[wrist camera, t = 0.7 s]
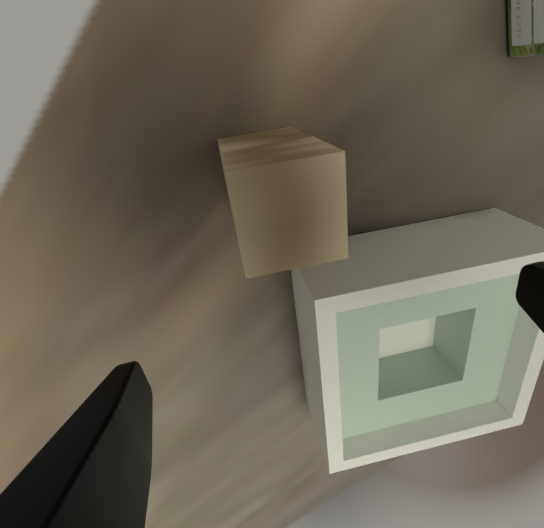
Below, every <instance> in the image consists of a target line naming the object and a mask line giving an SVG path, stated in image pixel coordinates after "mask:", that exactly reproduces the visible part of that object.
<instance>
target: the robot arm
mask: <svg viewBox="0 0 544 528" xmlns="http://www.w3.org/2000/svg"><path fill="white" fill-rule="evenodd" d="M515 296H516V300H517V302H518V304H519V305H520V307H521V308H522V309H523V310H524V311H525V312H526V314H527V315H528V316H529V317H530V318H531V319H532V321H533V322H534V323H535V324H536V325H537V326H538V327H539V329H540V330H541V331H542V332H543V333H544V261H540V262H535V263H531V264H527V265H525V266H523V267H522V269H521V270H520V274H519V279H518V284H517V288H516V293H515ZM151 467H152V390H151V387H150V385H149V383H148V381H147V378H146V376H145V374H144V372H143V370H142V368H141V366H140V364H139V363H138V362H136V361H132V362H128V363H124V364H120V365H118V366H116V367H115V368H114V369H113V370H112V371H111V372H110V374H109V375H108V376H107V377H106V378H105V379H104V380H103V381H102V382H101V384H100V385H99V386H98V387H97V388H96V389H95V390H94V391H93V392H92V394H91V395H90V396H89V397H88V398H87V399H86V400H85V401H84V402H83V403H82V405H81V406H80V407H79V408H78V409H77V410H76V411H75V412H74V413H73V415H72V416H71V417H70V418H69V419H68V420H67V421H66V422H65V423H64V425H63V426H62V427H61V428H60V429H59V430H58V431H57V432H56V433H55V434H54V436H53V437H52V438H51V439H50V440H49V441H48V442H47V443H46V444H45V446H44V447H43V448H42V449H41V450H40V451H39V452H38V453H37V454H36V456H35V457H34V458H33V459H32V460H31V461H30V462H29V463H28V464H27V465H26V467H25V468H24V469H23V470H22V471H21V472H20V473H19V474H18V475H17V477H16V478H15V479H14V480H13V481H12V482H11V483H10V484H9V485H8V486H7V488H6V489H5V490H4V491H3V492H2V493H1V494H0V528H145V520H146V511H147V503H148V495H149V487H150V478H151Z"/></svg>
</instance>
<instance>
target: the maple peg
mask: <svg viewBox="0 0 544 528" xmlns="http://www.w3.org/2000/svg"><path fill="white" fill-rule="evenodd" d="M217 141H218V146H219V151H220V156H221V161H222V166H223V171H224V176H225V182H226V187H227V192H228V197H229V202H230V207H231V212H232V217H233V221H234V226H235V231H236V235H237V240H238V245H239V249H240V254H241V259H242V263H243V268H244V273H245V277H246V279H248V278H253V277H258V276H263V275H268V274H273V273H278V272H283V271H288V270H293V269H298V268H303V267H308V266H313V265H318V264H323V263H328V262H332V261H337V260H342V259H347V258H348V224H347V190H346V156H345V151H344V150H342V149H340V148H337V147H335V146H333V145H331V144H329V143H327V142H324V141H322V140H320V139H318V138H316V137H314V136H311V135H309V134H307V133H305V132H303V131H301V130H298V129H296V128H294V127H292V126H291V127H285V128H279V129H273V130H267V131H261V132H254V133H248V134H242V135H236V136H230V137H224V138H218V139H217Z"/></svg>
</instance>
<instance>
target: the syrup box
mask: <svg viewBox="0 0 544 528" xmlns="http://www.w3.org/2000/svg"><path fill="white" fill-rule="evenodd" d="M508 31H509V52H510V56H511V57H524V56H536V55H544V0H508Z"/></svg>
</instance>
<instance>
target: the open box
mask: <svg viewBox="0 0 544 528" xmlns="http://www.w3.org/2000/svg"><path fill="white" fill-rule="evenodd" d="M540 261H544V228H542V227H539V226H537V225H534V224H532V223H530V222H527V221H525V220H523V219H520V218H518V217H515V216H513V215H511V214H508V213H506V212H504V211H501V210H499V209H497V208H490V209H485V210H480V211H475V212H470V213H465V214H460V215H454V216H449V217H444V218H439V219H434V220H429V221H424V222H419V223H413V224H408V225H403V226H398V227H393V228H388V229H383V230H378V231H373V232H367V233H362V234H357V235H352V236H348V258H347V259H342V260H337V261H332V262H328V263H323V264H318V265H313V266H308V267H303V268H298V269H293V270H291V278H292V286H293V295H294V303H295V311H296V319H297V328H298V336H299V344H300V352H301V361H302V369H303V377H304V385H305V394H306V402H307V405H308V408H309V411H310V414H311V417H312V420H313V423H314V427H315V430H316V433H317V436H318V439H319V442H320V445H321V448H322V451H323V455H324V458H325V461H326V464H327V467H328V470H329V473H330V474H331V473H335V472H339V471H342V470H346V469H350V468H354V467H358V466H362V465H366V464H370V463H373V462H377V461H381V460H385V459H389V458H393V457H397V456H401V455H404V454H408V453H412V452H416V451H420V450H424V449H428V448H431V447H436V446H439V445H443V444H447V443H451V442H455V441H459V440H463V439H467V438H470V437H474V436H478V435H482V434H486V433H490V432H494V431H498V430H501V429H505V428H509V427H513V426H517V425H521V424H523V421H524V418H525V415H526V412H527V408H528V405H529V402H530V399H531V396H532V393H533V390H534V387H535V384H536V381H537V377H538V375H539V372H540V369H541V366H542V363H543V360H544V333H543V332H542V331H541V330H540V329H539V327H538V326H537V325H536V324H535V323H534V322H533V321H532V319H531V318H530V317H529V316H528V315H527V314H526V312H525V311H524V310H523V309H522V308H521V307H520V305H519V304H518V302H517V300H516V296H515V293H516V288H517V284H518V279H519V274H520V270H521V269H522V267H523V266H525V265H527V264H531V263H535V262H540Z"/></svg>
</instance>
